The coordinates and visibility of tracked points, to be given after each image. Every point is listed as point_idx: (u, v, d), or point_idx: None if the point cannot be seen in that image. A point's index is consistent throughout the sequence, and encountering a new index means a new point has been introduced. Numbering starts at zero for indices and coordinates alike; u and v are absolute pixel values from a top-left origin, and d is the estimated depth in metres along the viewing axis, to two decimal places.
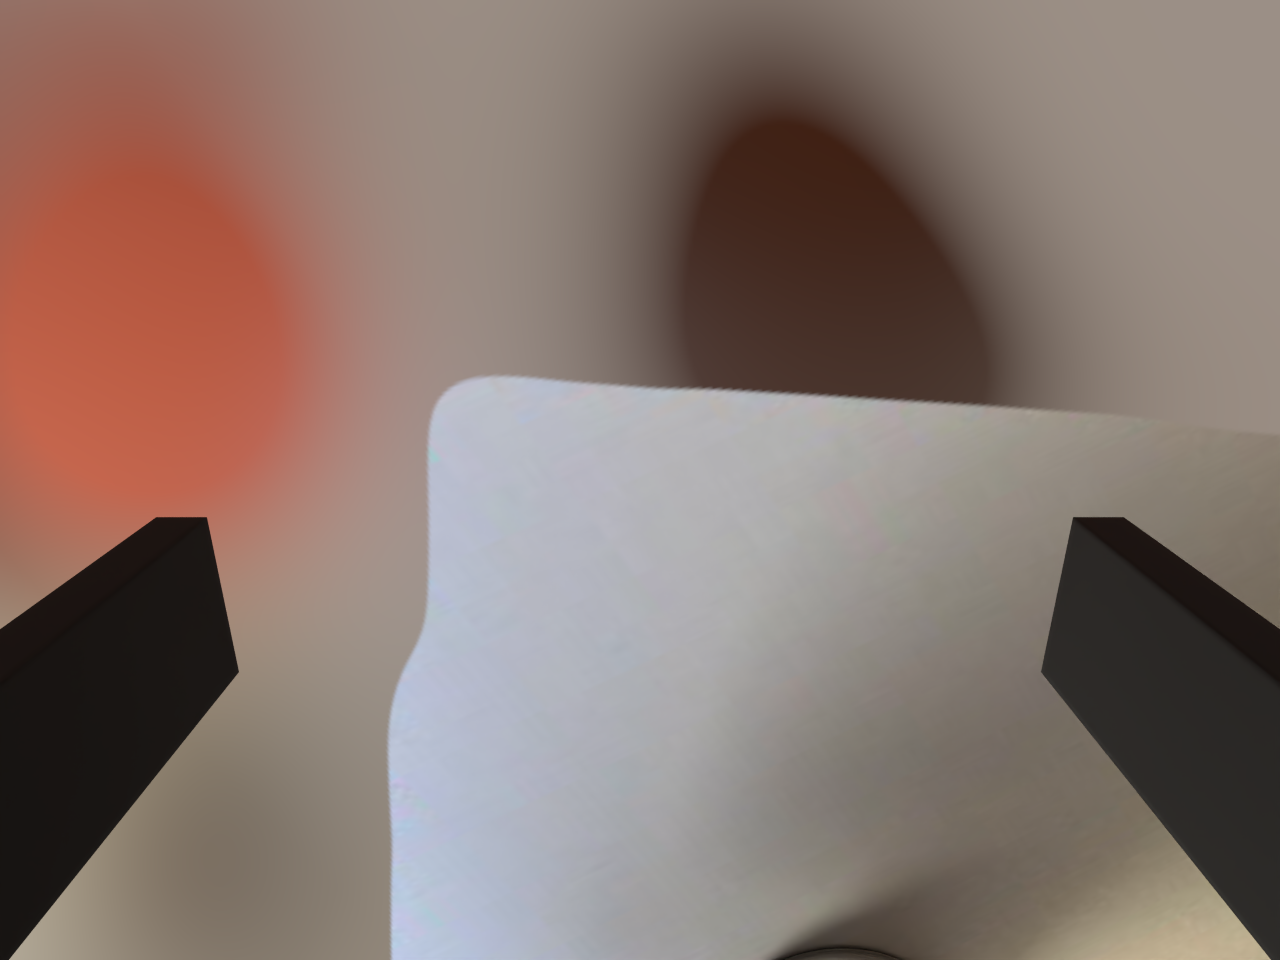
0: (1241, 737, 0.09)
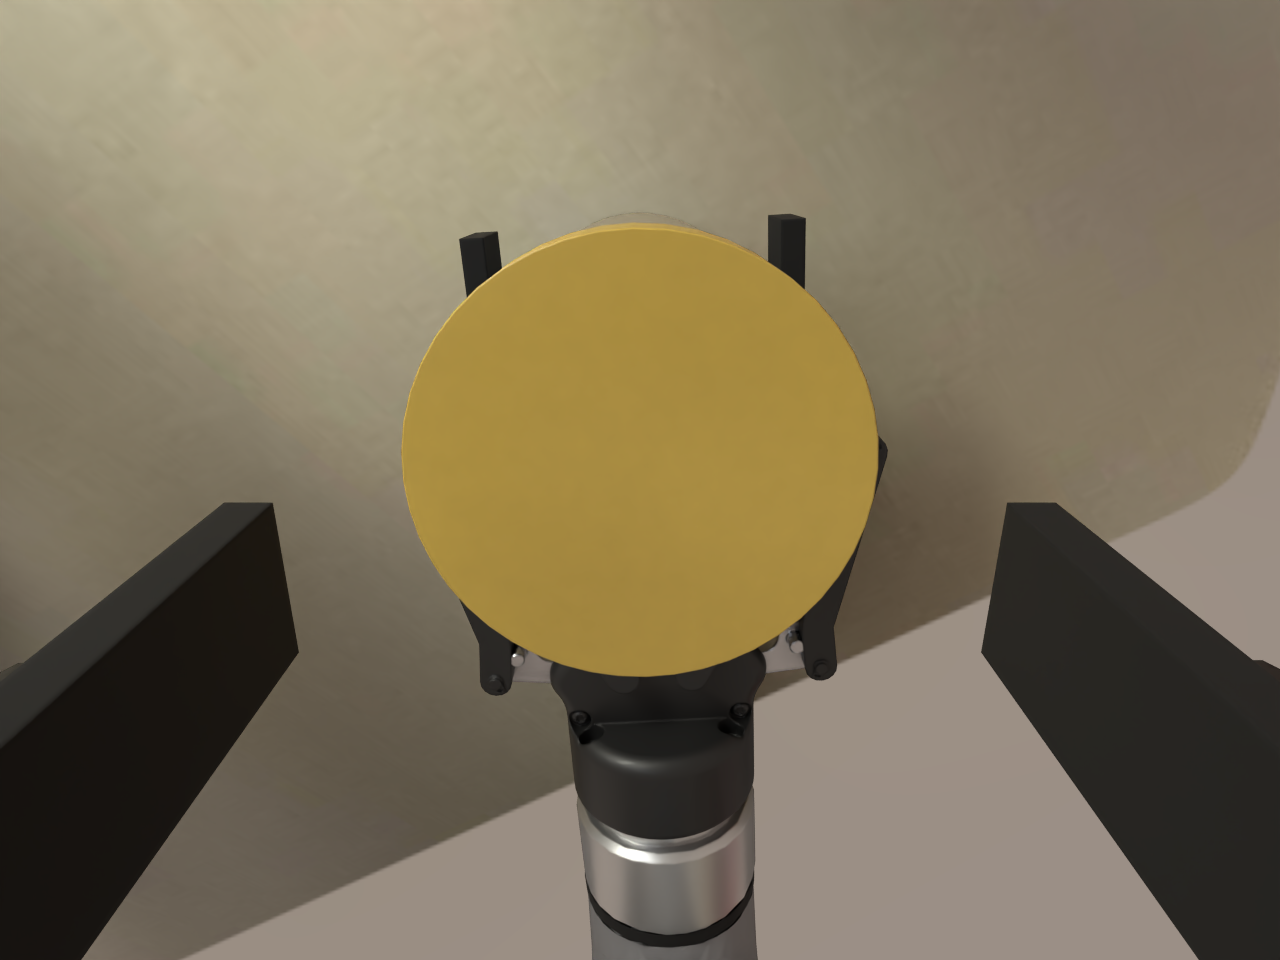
0: (1141, 704, 0.09)
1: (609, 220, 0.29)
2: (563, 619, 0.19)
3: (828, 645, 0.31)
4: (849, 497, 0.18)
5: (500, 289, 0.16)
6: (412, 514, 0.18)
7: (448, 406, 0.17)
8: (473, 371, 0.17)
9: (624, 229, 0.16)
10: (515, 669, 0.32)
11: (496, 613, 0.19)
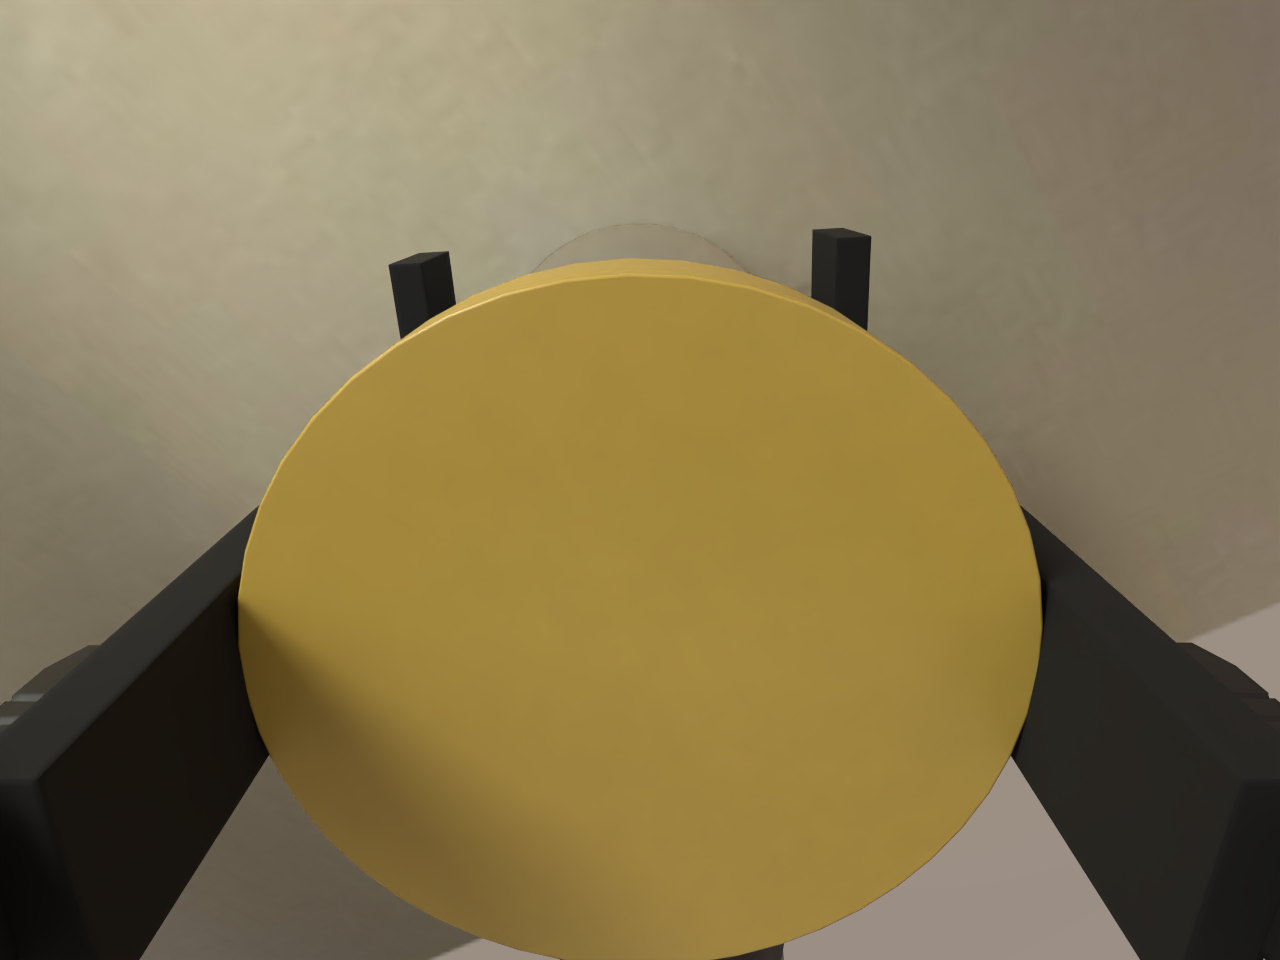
0: (1072, 684, 0.10)
1: (599, 235, 0.22)
2: (517, 888, 0.12)
3: None
4: (988, 713, 0.11)
5: (392, 381, 0.09)
6: (263, 738, 0.11)
7: (312, 573, 0.10)
8: (351, 517, 0.10)
9: (611, 277, 0.09)
10: None
11: (409, 880, 0.12)
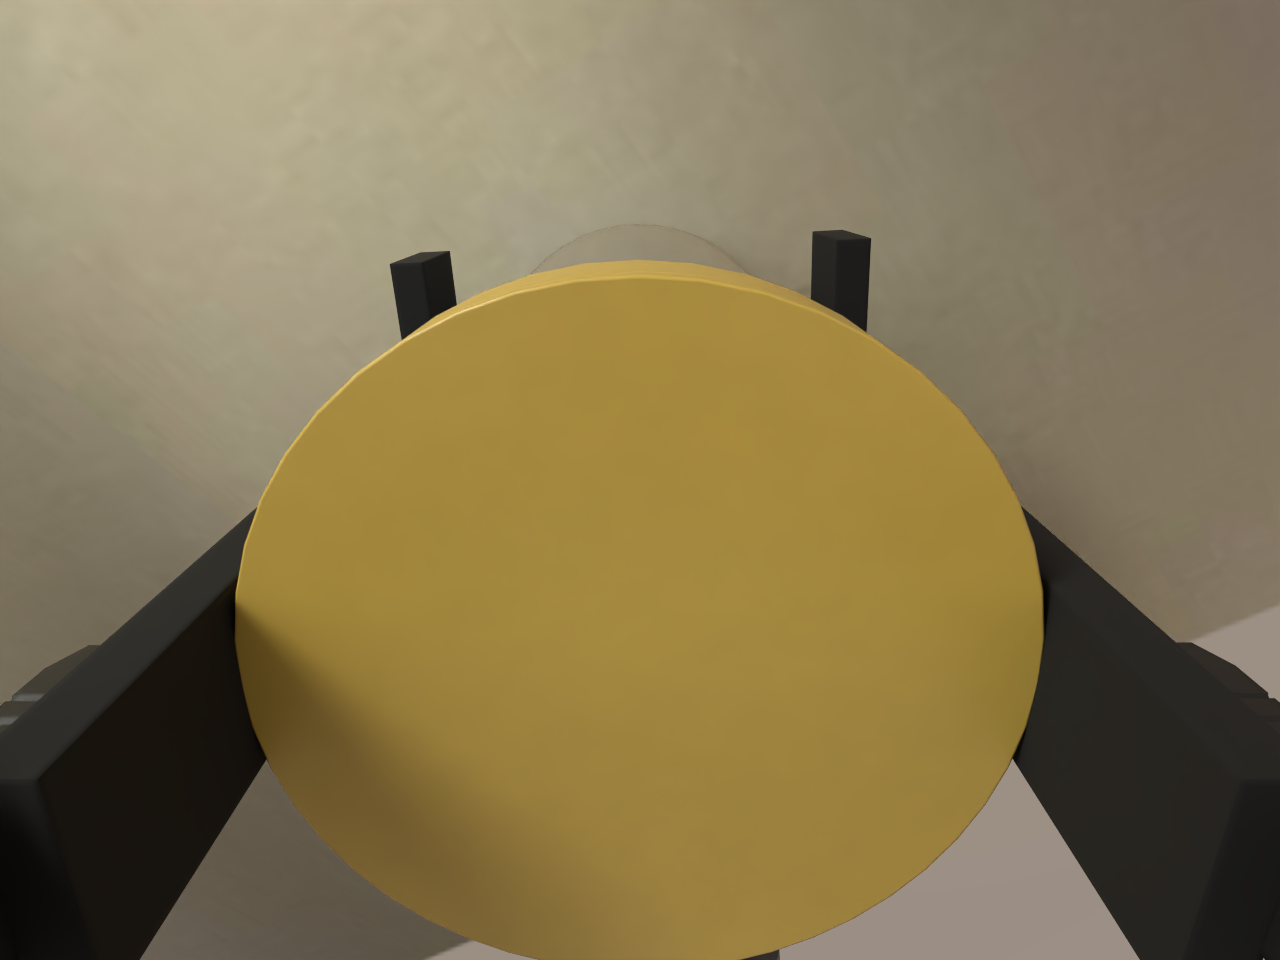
0: (1071, 684, 0.10)
1: (600, 235, 0.22)
2: (915, 772, 0.11)
3: None
4: (641, 326, 0.09)
5: (383, 872, 0.12)
6: None
7: (562, 923, 0.12)
8: (505, 898, 0.12)
9: None
10: None
11: (902, 860, 0.11)
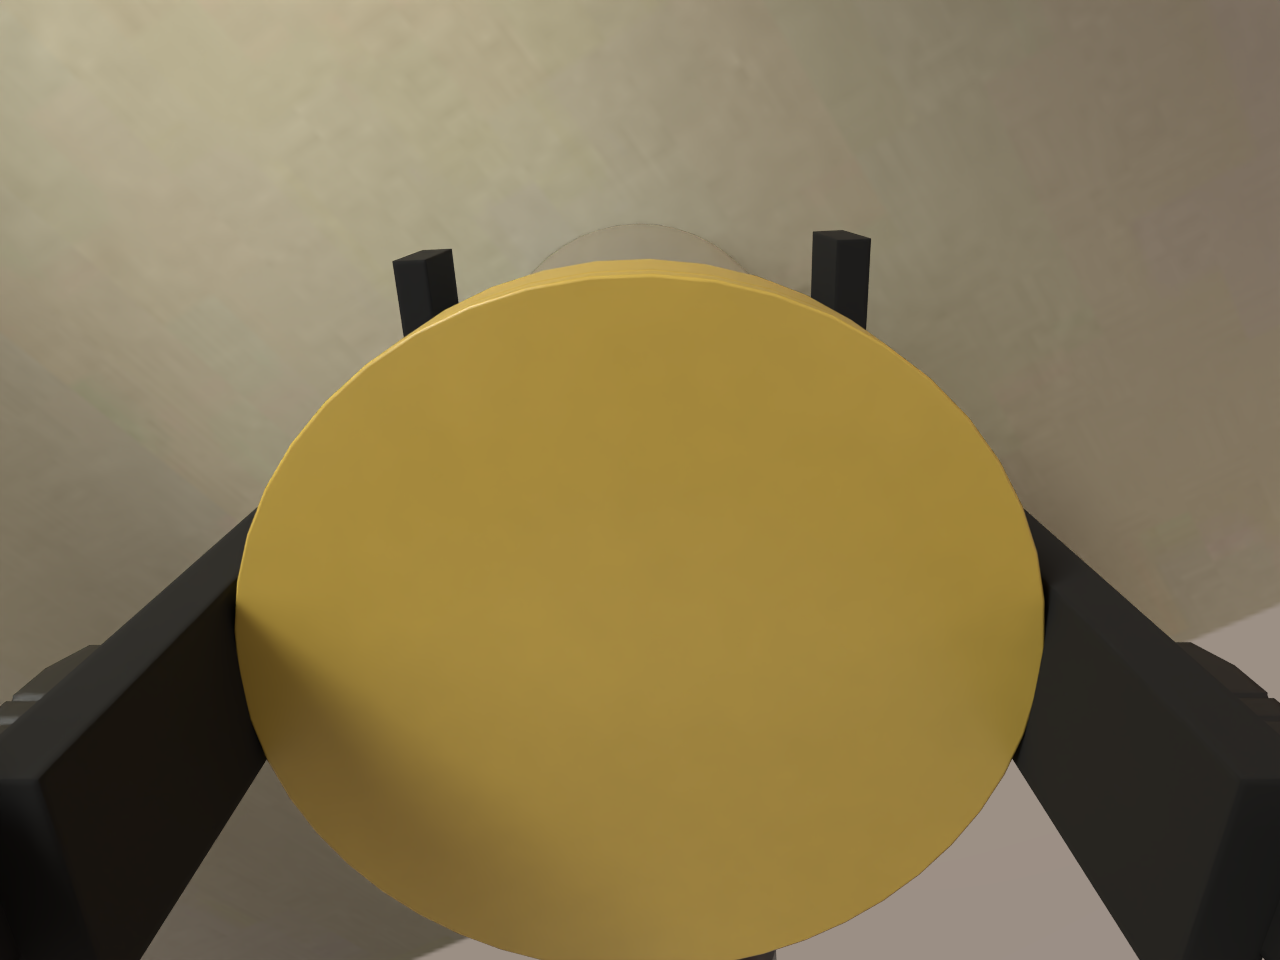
0: (1071, 684, 0.10)
1: (601, 234, 0.23)
2: (729, 392, 0.09)
3: None
4: (288, 713, 0.11)
5: (886, 877, 0.12)
6: (1033, 549, 0.10)
7: (962, 728, 0.11)
8: (923, 780, 0.11)
9: None
10: None
11: (869, 379, 0.09)
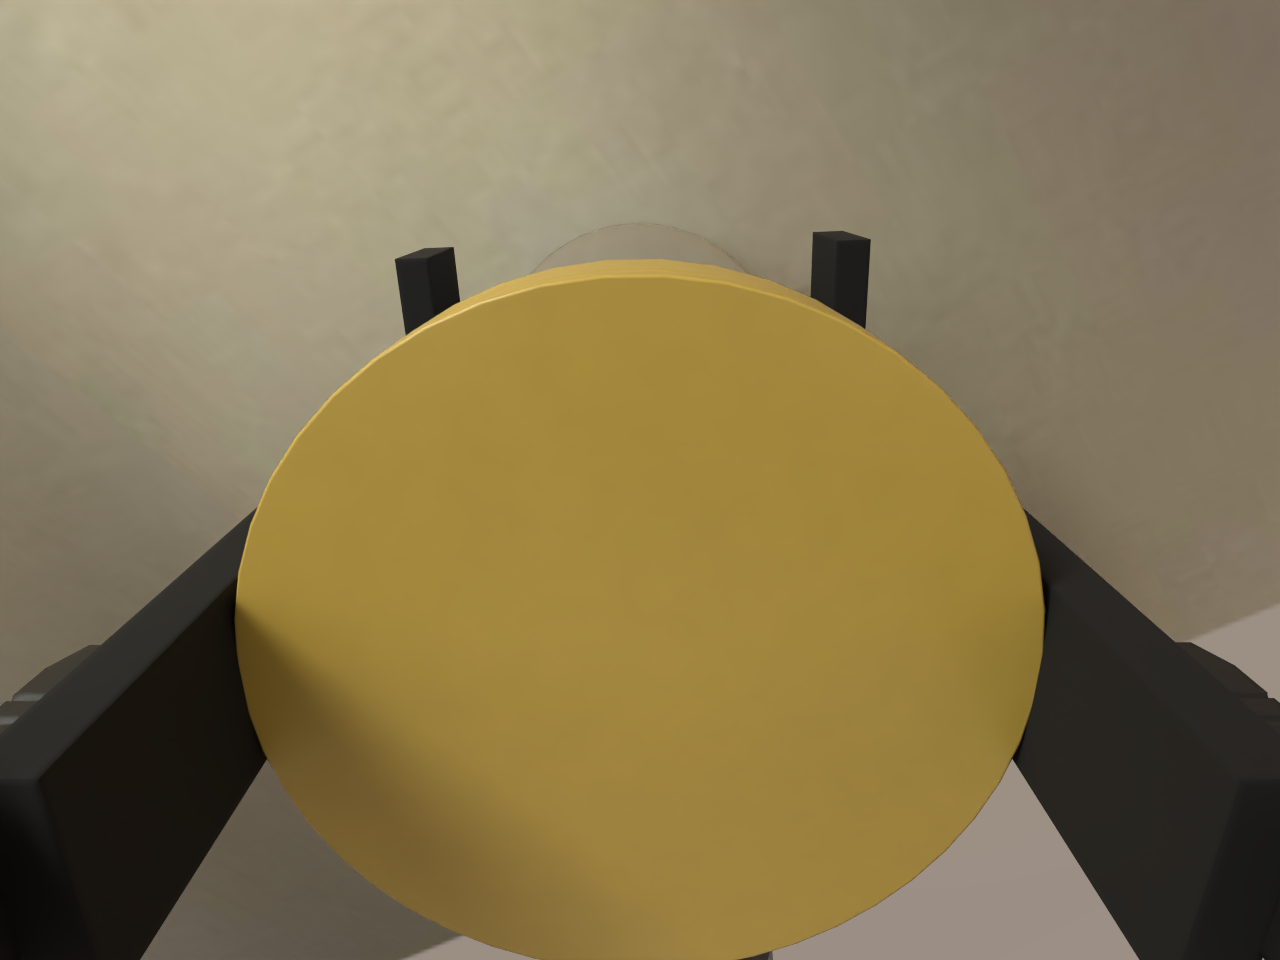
0: (1071, 684, 0.10)
1: (602, 234, 0.23)
2: (327, 643, 0.10)
3: None
4: (702, 941, 0.12)
5: (901, 391, 0.09)
6: (419, 335, 0.09)
7: (662, 352, 0.09)
8: (742, 382, 0.09)
9: (1036, 554, 0.10)
10: None
11: (283, 534, 0.10)
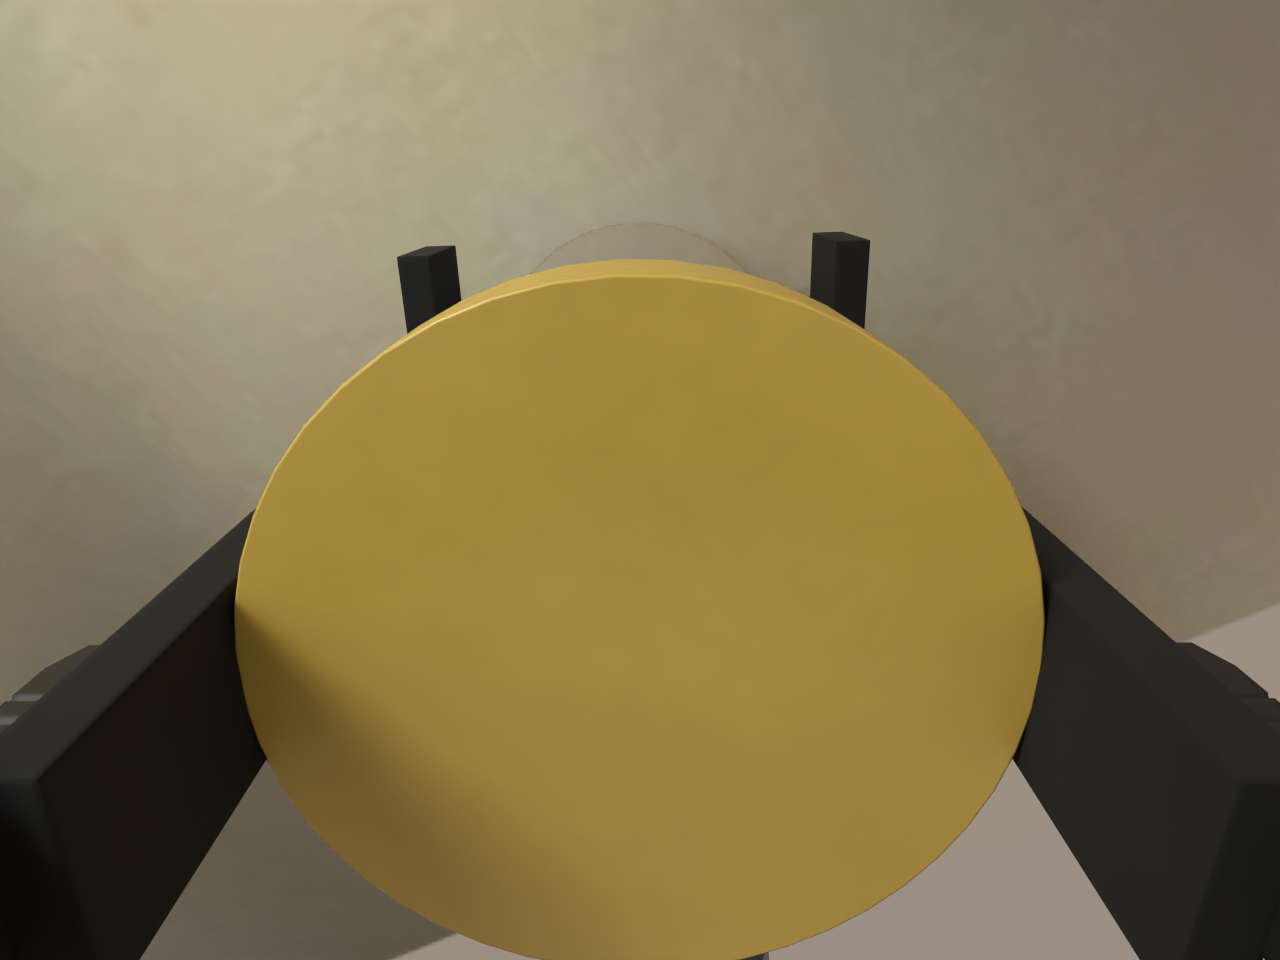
0: (1072, 684, 0.10)
1: (603, 233, 0.23)
2: (626, 913, 0.12)
3: None
4: (998, 588, 0.10)
5: (287, 503, 0.10)
6: (340, 855, 0.11)
7: (307, 696, 0.10)
8: (314, 635, 0.10)
9: (423, 330, 0.09)
10: None
11: (526, 937, 0.12)
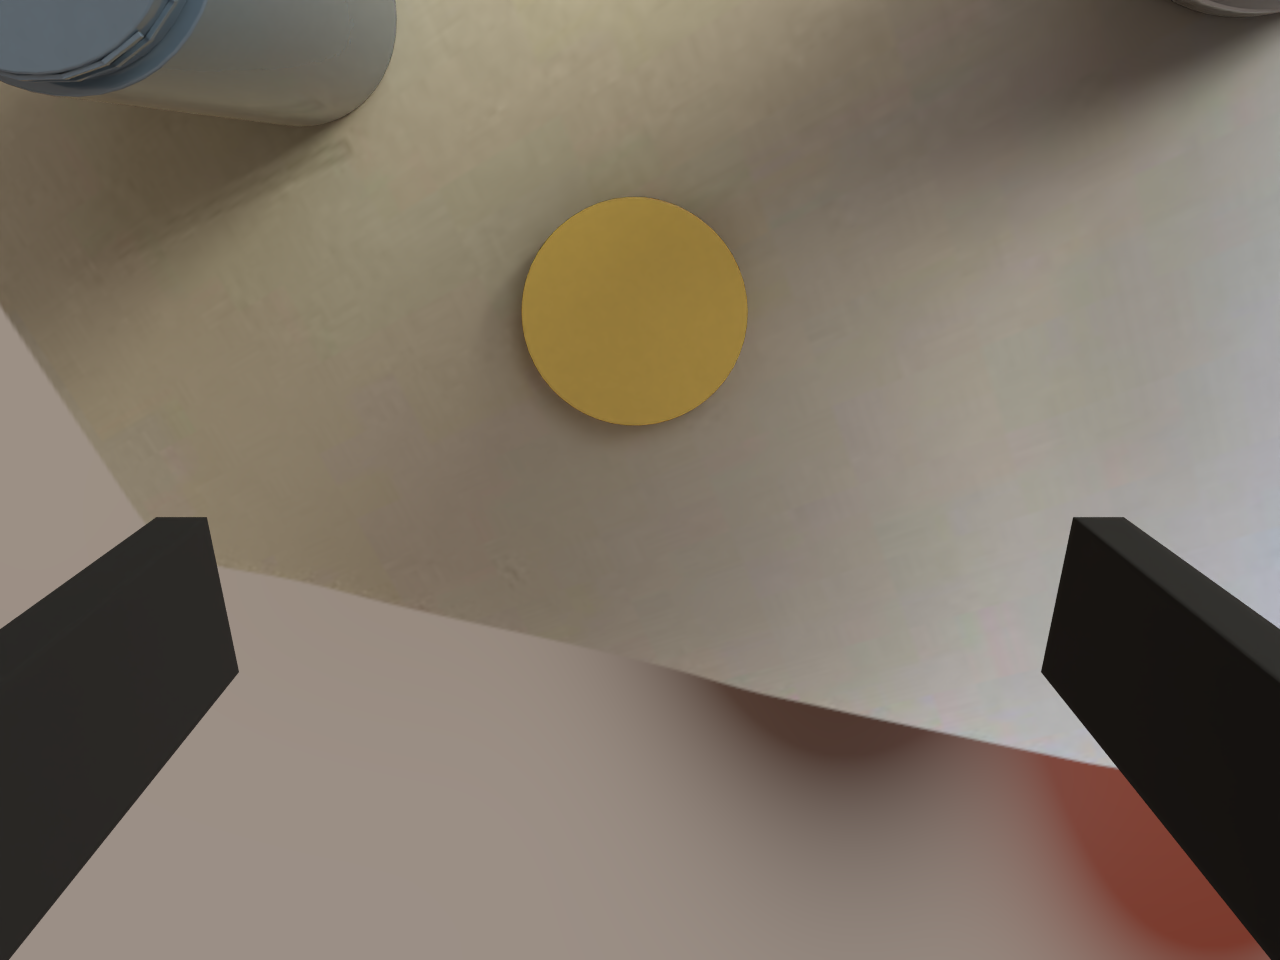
0: (1241, 737, 0.09)
1: None
2: (630, 401, 0.38)
3: None
4: (732, 286, 0.36)
5: (541, 260, 0.36)
6: (544, 378, 0.38)
7: (540, 321, 0.37)
8: (544, 301, 0.37)
9: (580, 212, 0.35)
10: None
11: (599, 411, 0.38)
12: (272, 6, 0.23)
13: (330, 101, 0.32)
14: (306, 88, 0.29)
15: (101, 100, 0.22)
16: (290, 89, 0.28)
